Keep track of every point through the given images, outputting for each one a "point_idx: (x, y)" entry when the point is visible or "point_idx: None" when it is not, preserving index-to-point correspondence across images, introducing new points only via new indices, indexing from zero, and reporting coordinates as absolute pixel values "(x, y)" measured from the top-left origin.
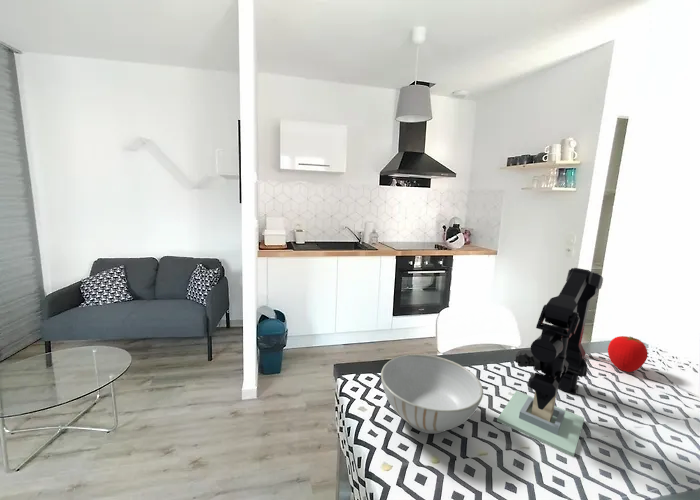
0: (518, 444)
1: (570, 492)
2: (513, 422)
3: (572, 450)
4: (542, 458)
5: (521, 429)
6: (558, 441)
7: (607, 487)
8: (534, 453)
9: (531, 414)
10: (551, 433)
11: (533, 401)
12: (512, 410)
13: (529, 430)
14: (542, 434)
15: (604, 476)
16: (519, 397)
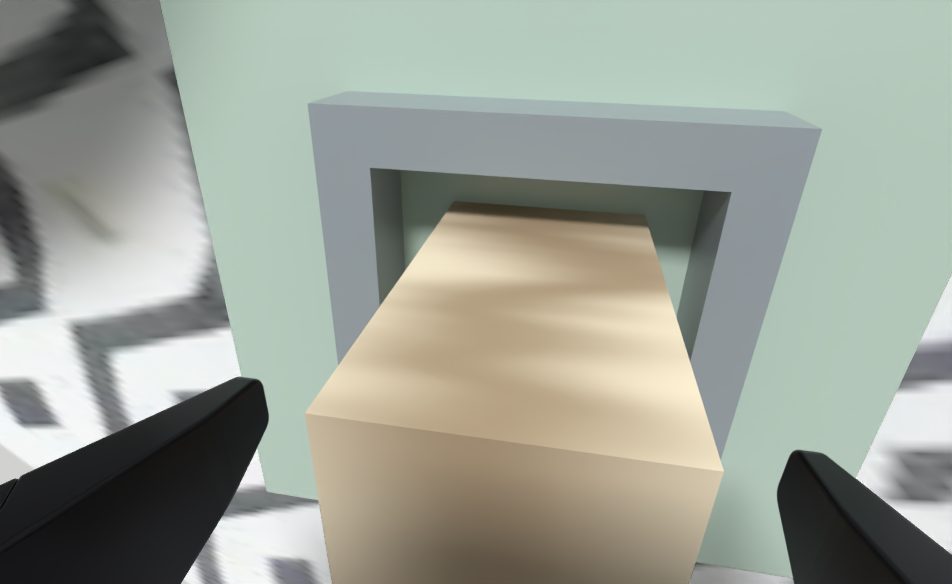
0: (65, 165)
1: (16, 447)
2: (218, 61)
3: (289, 485)
4: (100, 326)
5: (195, 158)
6: (305, 418)
7: (205, 570)
8: (92, 279)
9: (366, 237)
10: None
11: (386, 298)
12: None
13: (239, 225)
14: (285, 321)
15: (269, 571)
16: None
